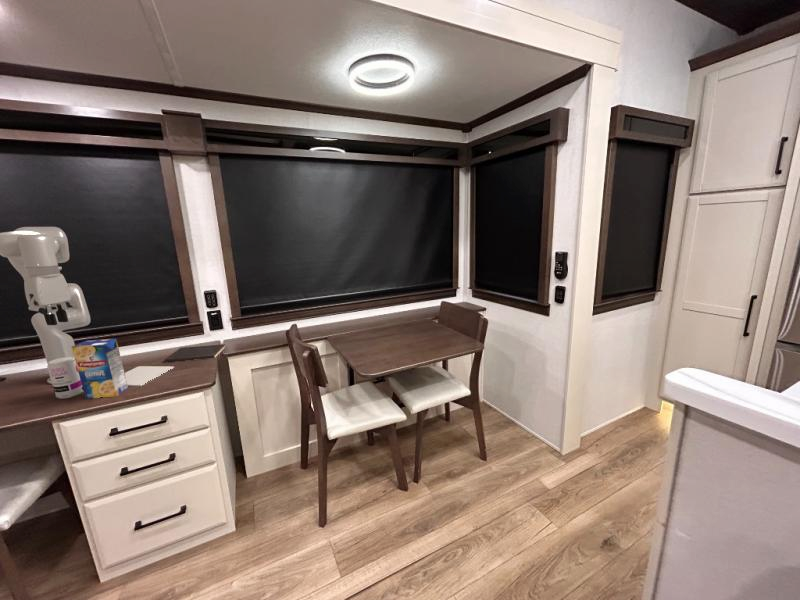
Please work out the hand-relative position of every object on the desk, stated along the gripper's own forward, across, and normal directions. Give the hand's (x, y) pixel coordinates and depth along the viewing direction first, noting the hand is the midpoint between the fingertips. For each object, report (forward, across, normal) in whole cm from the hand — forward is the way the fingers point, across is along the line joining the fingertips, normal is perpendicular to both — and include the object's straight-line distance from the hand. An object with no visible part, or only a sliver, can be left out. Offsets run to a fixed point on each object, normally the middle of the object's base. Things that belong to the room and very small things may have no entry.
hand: (57, 322), depth 110 cm
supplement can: (+33, -9, -15) cm, 38 cm away
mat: (+33, -25, 0) cm, 42 cm away
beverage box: (+33, -10, 0) cm, 35 cm away
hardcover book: (+34, -50, +9) cm, 61 cm away
